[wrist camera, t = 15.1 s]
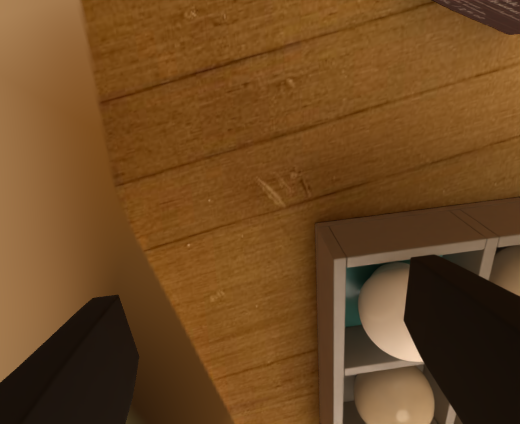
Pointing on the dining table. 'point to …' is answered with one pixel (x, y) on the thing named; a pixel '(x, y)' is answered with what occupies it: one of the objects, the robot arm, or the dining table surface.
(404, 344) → the white hen egg
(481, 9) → the box
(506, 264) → the egg
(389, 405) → the egg
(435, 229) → the carton
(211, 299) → the dining table surface
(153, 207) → the dining table surface
